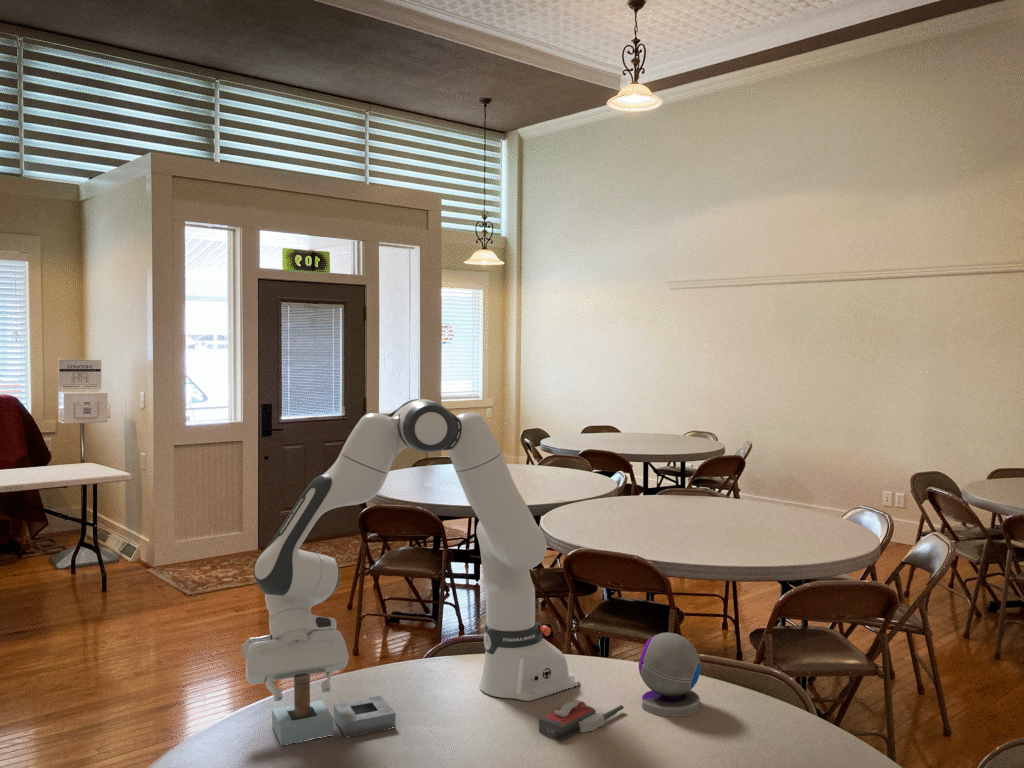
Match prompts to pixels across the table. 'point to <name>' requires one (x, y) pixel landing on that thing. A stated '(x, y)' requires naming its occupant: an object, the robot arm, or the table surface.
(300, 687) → the peg
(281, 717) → the block
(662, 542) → the table surface
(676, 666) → the webcam
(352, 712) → the socket block
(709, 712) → the table surface
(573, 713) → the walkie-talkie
